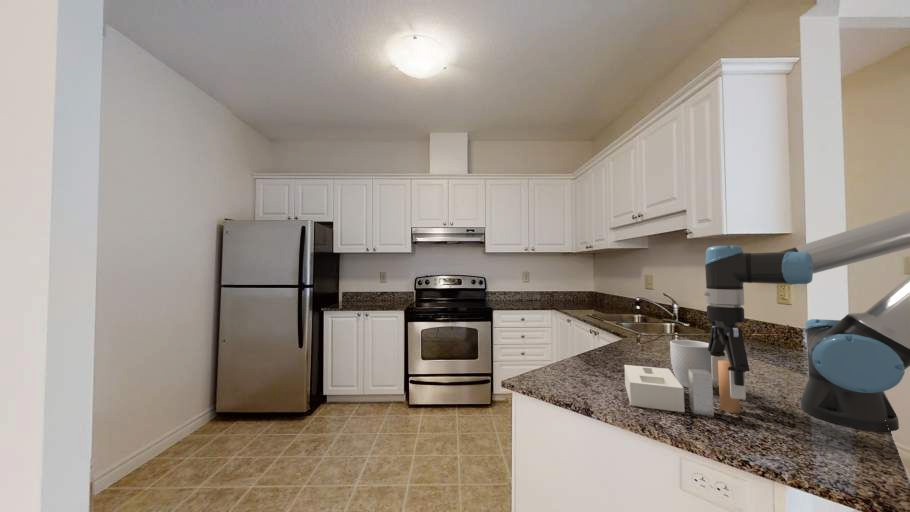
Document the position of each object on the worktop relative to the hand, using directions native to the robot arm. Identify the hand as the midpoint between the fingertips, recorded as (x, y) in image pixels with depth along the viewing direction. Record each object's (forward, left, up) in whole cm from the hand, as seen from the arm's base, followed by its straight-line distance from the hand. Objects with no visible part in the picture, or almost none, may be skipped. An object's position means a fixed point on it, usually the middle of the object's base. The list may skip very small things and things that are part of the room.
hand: (727, 388), depth 85 cm
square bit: (+7, +4, -5) cm, 9 cm away
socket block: (+17, -3, -5) cm, 18 cm away
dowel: (0, 0, -5) cm, 5 cm away
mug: (+3, -17, -5) cm, 18 cm away
